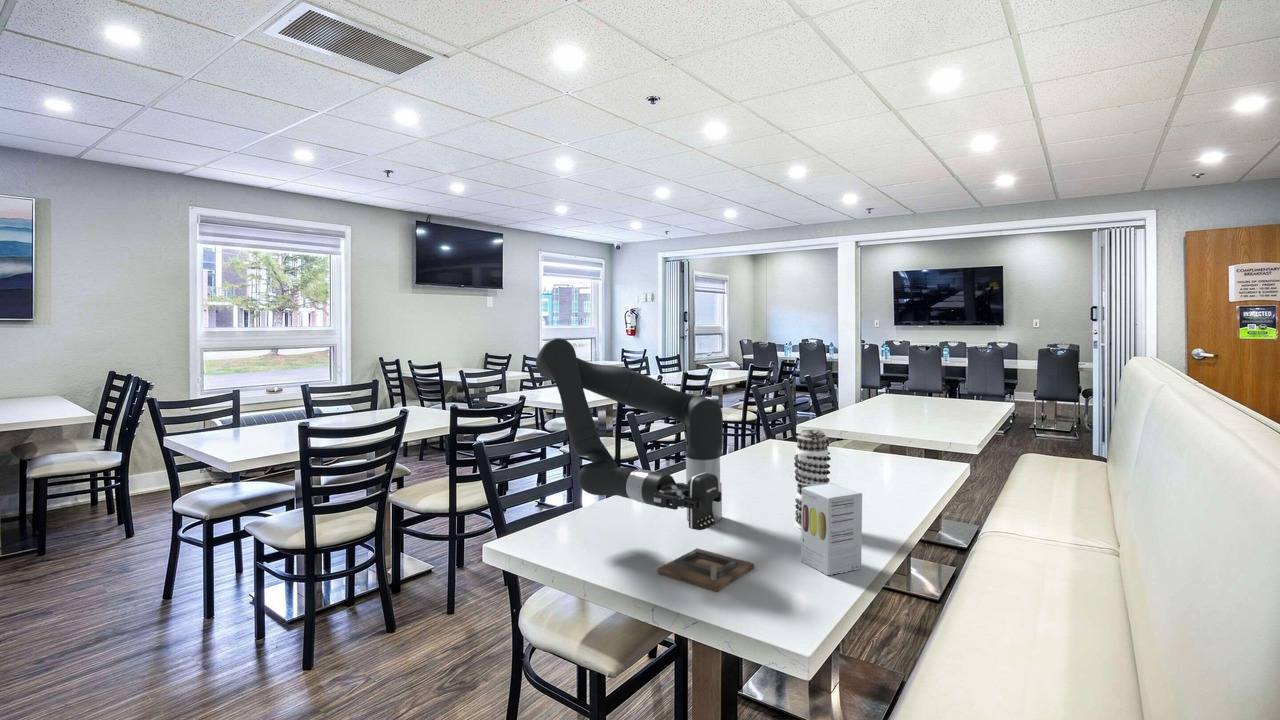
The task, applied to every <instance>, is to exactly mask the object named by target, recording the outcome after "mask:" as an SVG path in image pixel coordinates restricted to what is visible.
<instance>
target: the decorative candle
mask: <svg viewBox="0 0 1280 720" xmlns="http://www.w3.org/2000/svg"><path fill="white" fill-rule="evenodd" d="M795 437H796V439H797V441H796V443H797V444H796V445H797V447H796V454H795V455H794V458H793V459H794V463H793V464H794V467H795V469H794V473H795V476H794V479H795V480H794V481H795V483H797V484H796V485H797V486H796V487H797V491H796V498H795V503H796V504H795V505H794V506H795V509H796V510H795V513H794V514H795V518H794V519H795V527H796V528H798V529H800V530H801V522H802V488H803V487H809V486H816V485H824V484H830V478H828V475H829V474H831V471H830V470H828V469H829V468H831V465H830V464H829V463H828V462H829V461H831V460H832V458H831V456H829V455H831V452H829V449H828V439H829V437H828V436H827V435H826V434H825V432H823V431H822V430H819V429H818V430H817V429H804V430H802V431H801V430H800V432H799V433H798V434H797V435H795Z"/></svg>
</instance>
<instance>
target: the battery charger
mask: <svg viewBox="0 0 1280 720" xmlns="http://www.w3.org/2000/svg"><path fill="white" fill-rule="evenodd" d="M718 495H719V486H718V478H717V476H716V475H714V474H709V473H706V472H705V473H700V474H697V475H694V476H692V477H691V478H690V480H689V491H688V497H692V498H697V499H701V501H702V509H701V510H695V509H690V508H689V520H688V528H689V529H690V530H695V531H703V530H706V529H709V528H711V527H713V526H715V525H716V522H715V518H714V516H713V511H712V504H713V500H714V499H715V498H717V497H718Z"/></svg>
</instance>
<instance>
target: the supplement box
mask: <svg viewBox="0 0 1280 720" xmlns="http://www.w3.org/2000/svg"><path fill="white" fill-rule="evenodd" d="M862 525H863V492H859V491H856V490H853V489H850V488H848V487H845V486H841V485H839V484H836V483H834V482H832V483H829V484H824V485H816V486H809V487H803V488H802V522H801V529H800V530H801V536H800V538H801V539H800V541H801V543H800V544H801V545H800V547H801V548H800V549H801V550H800V562H802V563H805V564H806V565H808V566H810V567H811V568H812V569H815V570H816V569H817V570H816V571H818V572H820V573H822V572H823V573H824V575H825V574H826V575H825V576H827V575H831V576H834V575H833V574H836V575H838V574H837V573H841V572H845V573H847V572H846V571H850V570H855V571H857V570H856V569H859V570H861V569H862V546H863V545H862V538H863V537H862V535H863V534H862V532H863V526H862ZM860 568H861V569H860ZM850 572H851V571H850ZM823 573H822V574H823ZM841 574H842V573H841Z"/></svg>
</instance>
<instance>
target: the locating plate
mask: <svg viewBox="0 0 1280 720" xmlns="http://www.w3.org/2000/svg"><path fill="white" fill-rule="evenodd" d="M753 569H755V563H753V562H751V561H746V560H742V559H739V558H734V557H731V556H727V555H724V554H720V553H716V552H712V551H708V550H705V549H701V548H695V549H693V550H691V551H689V552H687V553H685V554H683V555H681V556H679V557H677V558H674V559H673V560H672V561H670V562H669V561H668V563H666V564H664V565H662V566H659V567H658V568H657V569H656V571H657V574H658V575H660V576H661V575H662V576H665V577H669V578H671V579H675V580H678V581H681V582H684V583H688V584H691V585H694V586H697V587H699V588H703V589H707V590H710V591H713V592H715V593H717V592H719V591H720V590H722V589H724V588H725V587H727V586H728V585H730V584H731V583H733V582H734V581H737V580H738V579H739V578H741V577H743V576H744V575H745V574H747V573H748V572H749V573H750V571H752V570H753Z"/></svg>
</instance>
